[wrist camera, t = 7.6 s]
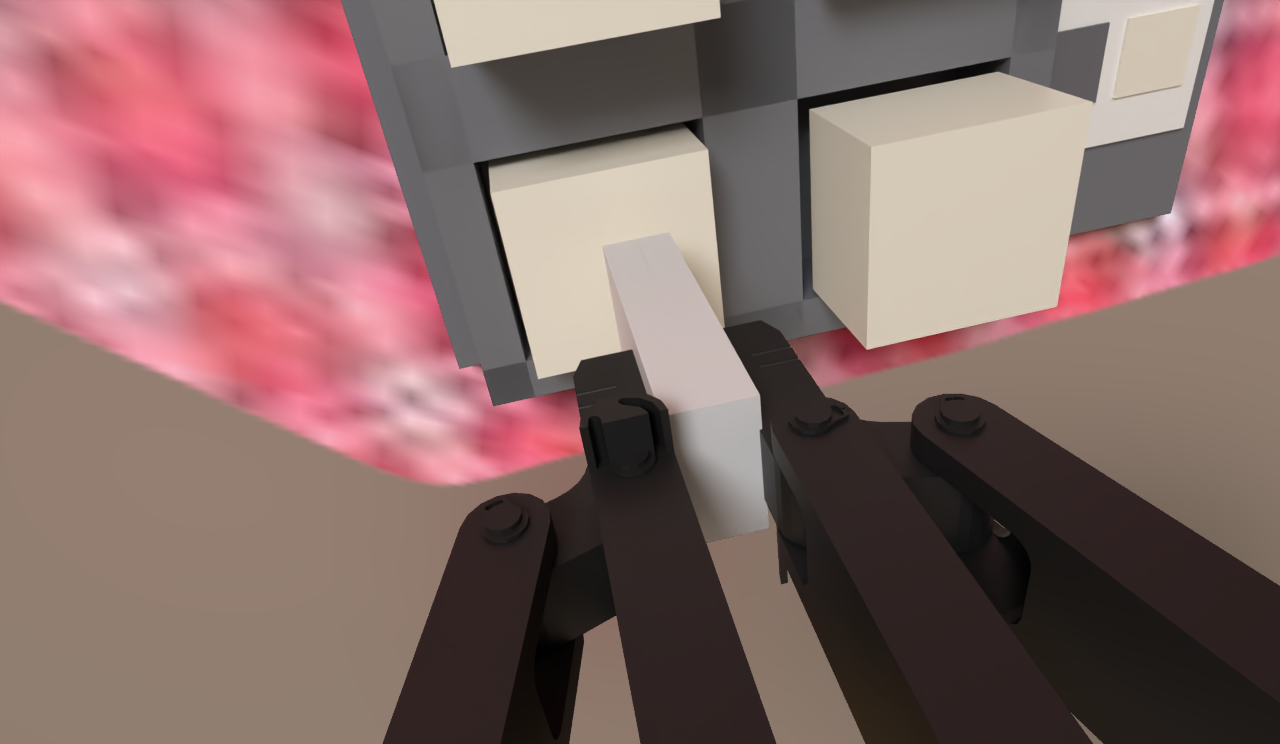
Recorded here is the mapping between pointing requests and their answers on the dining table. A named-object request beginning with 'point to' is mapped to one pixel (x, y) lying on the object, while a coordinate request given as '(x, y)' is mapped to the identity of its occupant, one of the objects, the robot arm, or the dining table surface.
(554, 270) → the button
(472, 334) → the board
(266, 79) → the dining table surface
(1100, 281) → the dining table surface
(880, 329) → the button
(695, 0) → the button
